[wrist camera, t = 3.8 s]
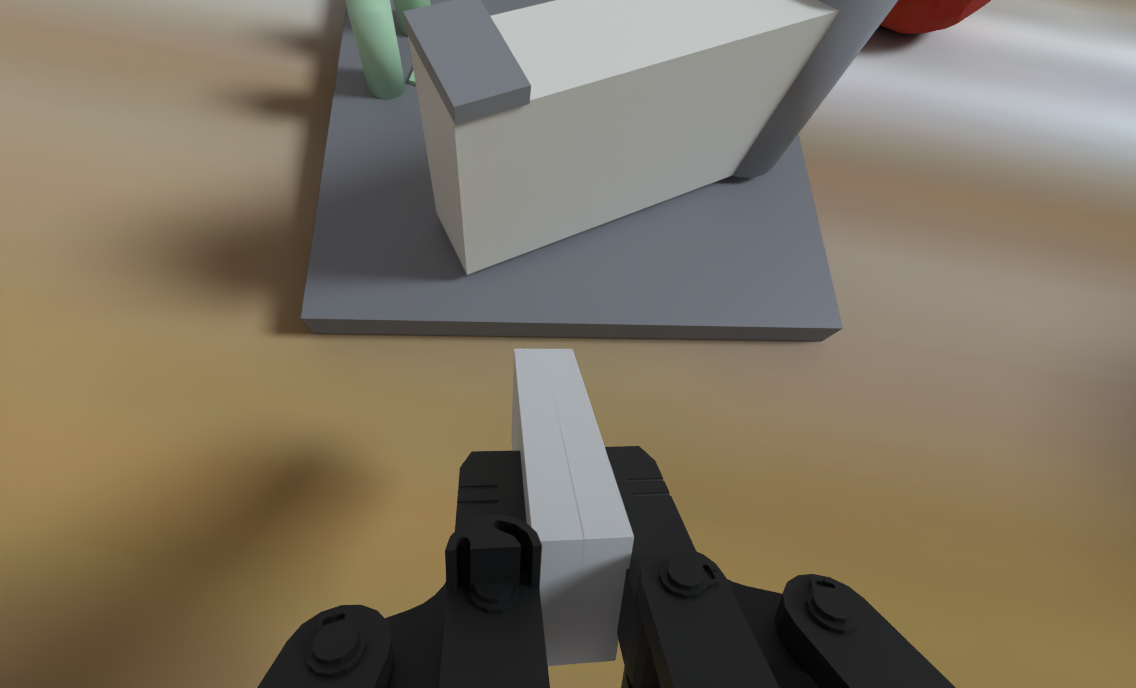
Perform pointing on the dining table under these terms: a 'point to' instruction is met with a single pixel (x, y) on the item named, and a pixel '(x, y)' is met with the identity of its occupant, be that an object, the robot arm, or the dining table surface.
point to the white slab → (612, 105)
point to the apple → (929, 14)
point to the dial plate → (555, 271)
